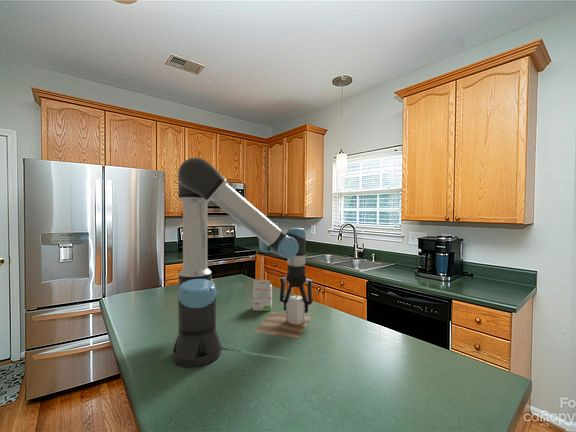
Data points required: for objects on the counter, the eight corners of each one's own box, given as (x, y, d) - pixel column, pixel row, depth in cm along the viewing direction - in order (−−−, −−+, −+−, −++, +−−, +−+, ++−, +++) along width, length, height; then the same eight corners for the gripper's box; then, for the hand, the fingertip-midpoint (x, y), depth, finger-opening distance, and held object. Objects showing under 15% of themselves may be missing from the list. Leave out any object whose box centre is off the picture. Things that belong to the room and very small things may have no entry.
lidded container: (301, 325, 115) (301, 300, 114) (286, 323, 116) (286, 298, 116) (305, 319, 121) (305, 295, 121) (290, 317, 123) (290, 294, 122)
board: (298, 339, 103) (298, 324, 103) (253, 333, 108) (253, 318, 108) (310, 317, 124) (311, 305, 124) (272, 313, 129) (272, 301, 129)
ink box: (272, 308, 136) (272, 277, 135) (270, 312, 131) (270, 280, 130) (254, 307, 136) (254, 277, 136) (252, 311, 132) (252, 279, 131)
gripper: (320, 264, 119) (320, 318, 119) (277, 261, 124) (276, 313, 125) (317, 267, 112) (317, 325, 112) (271, 264, 117) (271, 319, 118)
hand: (295, 319), depth 119 cm, fingers closed on lidded container, 6 cm apart
